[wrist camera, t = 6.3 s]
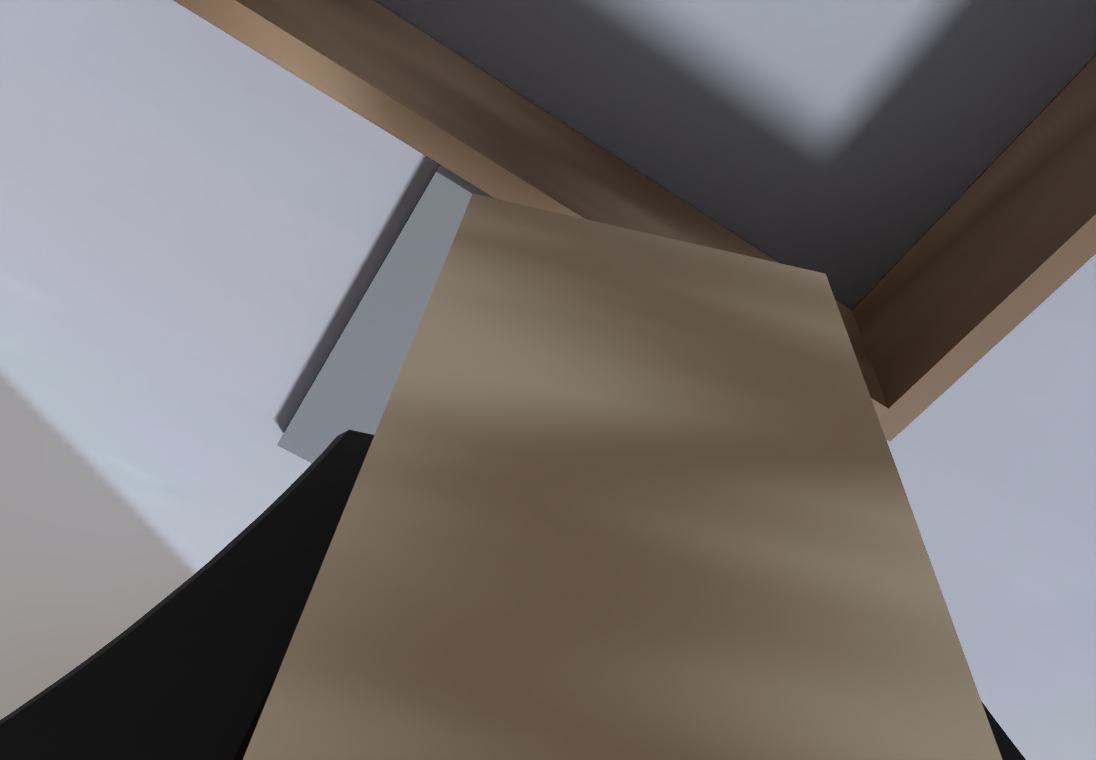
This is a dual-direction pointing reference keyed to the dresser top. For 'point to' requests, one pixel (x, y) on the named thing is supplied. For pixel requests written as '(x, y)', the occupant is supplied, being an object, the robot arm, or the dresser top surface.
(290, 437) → the rubber mat
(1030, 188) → the walnut crate
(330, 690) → the maple block
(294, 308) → the dresser top surface
